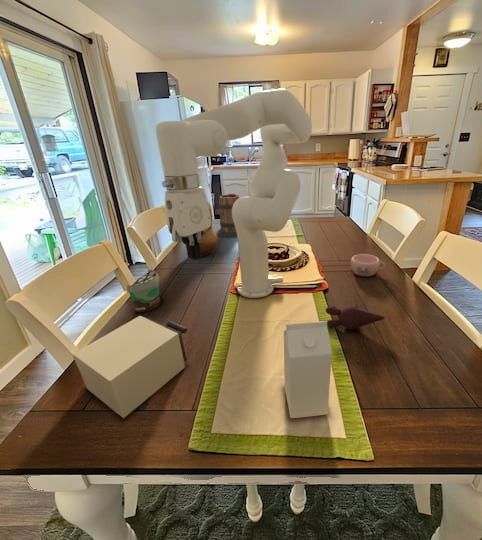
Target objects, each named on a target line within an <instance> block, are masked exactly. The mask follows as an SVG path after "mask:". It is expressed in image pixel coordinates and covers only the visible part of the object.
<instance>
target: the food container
mask: <svg viewBox="0 0 482 540" xmlns="http://www.w3.org/2000/svg"><path fill="white" fill-rule="evenodd" d="M160 279H161V278H160V276H159V274H158V273H157V271H156V270H154V269H151V268H149V269H148V268H147V272H146V273H145V274H144V275H142V276H140V277H139V278H138V279H136V281H135V282H134V283H132V284H129V285H127V284H126V292H127V293H129V296H130V299H131V301H132V304H133V307H134V309H135V312H136V313H144V312H145V313H146V312H148V311H149V312H150V311H151V310H154V309H156V308H158V306H160V304H161V295H160V294H161V293H160V286H159V282H160Z"/></svg>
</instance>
